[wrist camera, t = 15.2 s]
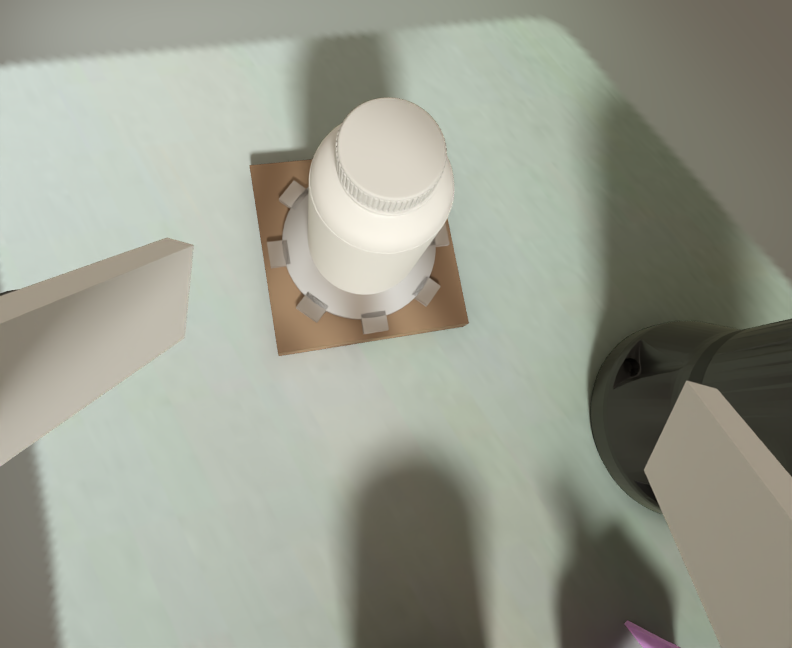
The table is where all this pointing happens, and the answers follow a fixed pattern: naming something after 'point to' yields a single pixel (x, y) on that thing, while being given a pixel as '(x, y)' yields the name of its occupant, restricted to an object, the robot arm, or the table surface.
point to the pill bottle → (377, 195)
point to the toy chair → (648, 637)
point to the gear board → (325, 303)
